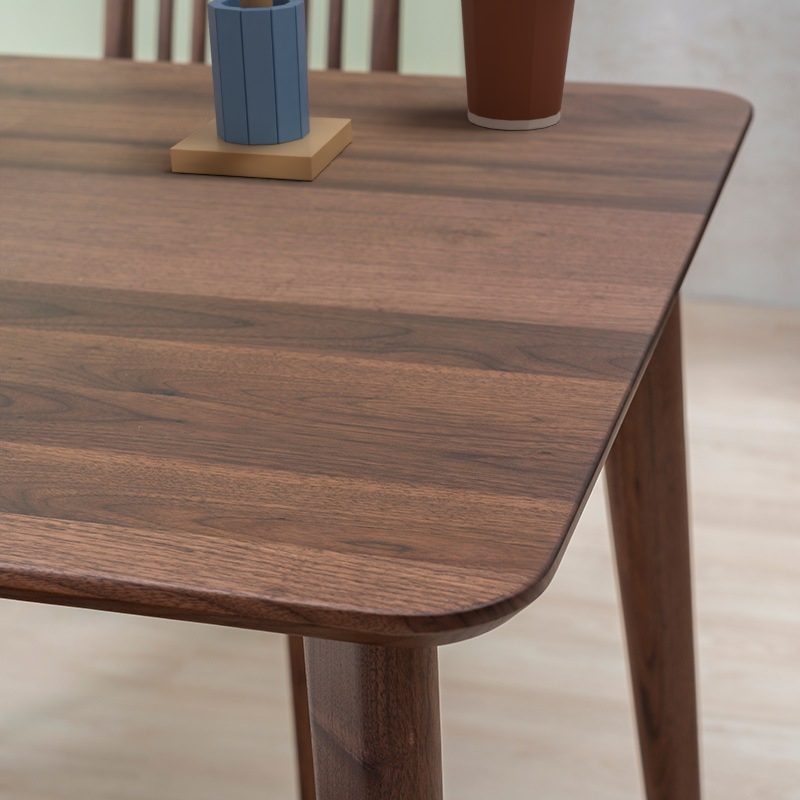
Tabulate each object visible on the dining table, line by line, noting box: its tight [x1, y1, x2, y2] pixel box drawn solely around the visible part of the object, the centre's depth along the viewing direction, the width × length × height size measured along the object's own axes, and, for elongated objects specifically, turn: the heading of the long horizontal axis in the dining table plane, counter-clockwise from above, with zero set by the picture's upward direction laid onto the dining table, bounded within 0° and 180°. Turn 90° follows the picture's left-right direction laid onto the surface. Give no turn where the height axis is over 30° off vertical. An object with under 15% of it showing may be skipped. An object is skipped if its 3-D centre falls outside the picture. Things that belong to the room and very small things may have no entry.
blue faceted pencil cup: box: [206, 0, 310, 145], centre depth 77 cm, size 6×6×8 cm
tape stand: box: [169, 0, 353, 182], centre depth 78 cm, size 9×9×10 cm
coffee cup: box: [460, 0, 576, 131], centre depth 85 cm, size 9×9×12 cm
